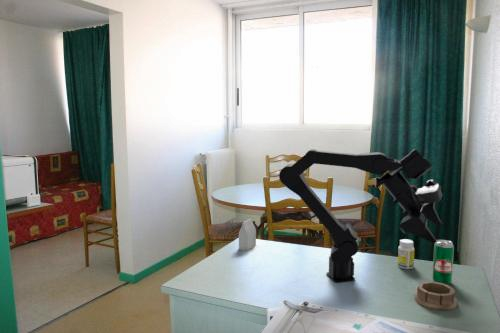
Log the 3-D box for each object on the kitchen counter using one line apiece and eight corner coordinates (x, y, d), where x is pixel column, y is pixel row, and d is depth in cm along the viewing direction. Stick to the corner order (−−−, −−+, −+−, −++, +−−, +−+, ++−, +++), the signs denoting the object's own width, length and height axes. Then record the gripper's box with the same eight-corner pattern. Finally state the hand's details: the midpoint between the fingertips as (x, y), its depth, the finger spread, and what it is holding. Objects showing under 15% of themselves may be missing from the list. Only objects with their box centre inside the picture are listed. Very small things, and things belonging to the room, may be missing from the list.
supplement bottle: (411, 264, 131) (412, 238, 130) (415, 269, 126) (417, 243, 125) (395, 263, 131) (397, 238, 130) (399, 269, 126) (401, 243, 125)
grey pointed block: (255, 245, 150) (255, 218, 149) (247, 250, 144) (247, 223, 143) (247, 243, 152) (246, 217, 151) (238, 249, 146) (238, 222, 145)
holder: (431, 312, 99) (432, 299, 98) (406, 294, 108) (407, 282, 108) (466, 307, 101) (467, 294, 101) (438, 290, 111) (439, 278, 110)
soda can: (432, 283, 115) (434, 243, 114) (432, 277, 120) (434, 238, 118) (452, 286, 113) (455, 245, 112) (450, 279, 118) (453, 240, 117)
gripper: (418, 190, 100) (460, 239, 99) (431, 162, 115) (468, 205, 114) (383, 210, 108) (421, 256, 107) (400, 182, 122) (434, 222, 121)
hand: (437, 233), depth 112 cm, fingers open, 9 cm apart
